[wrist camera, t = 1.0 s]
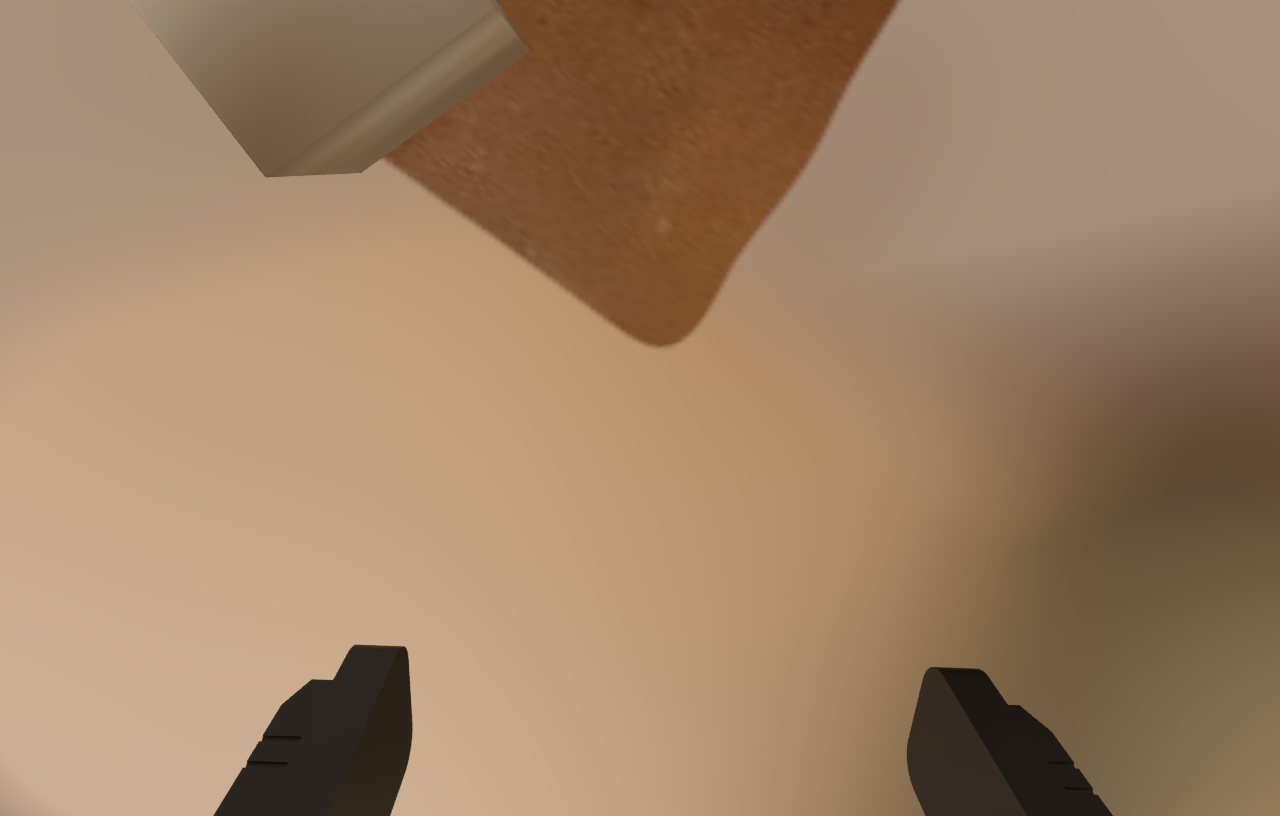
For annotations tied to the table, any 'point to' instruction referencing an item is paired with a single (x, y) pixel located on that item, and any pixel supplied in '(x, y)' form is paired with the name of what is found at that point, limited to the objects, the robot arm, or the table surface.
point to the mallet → (332, 70)
